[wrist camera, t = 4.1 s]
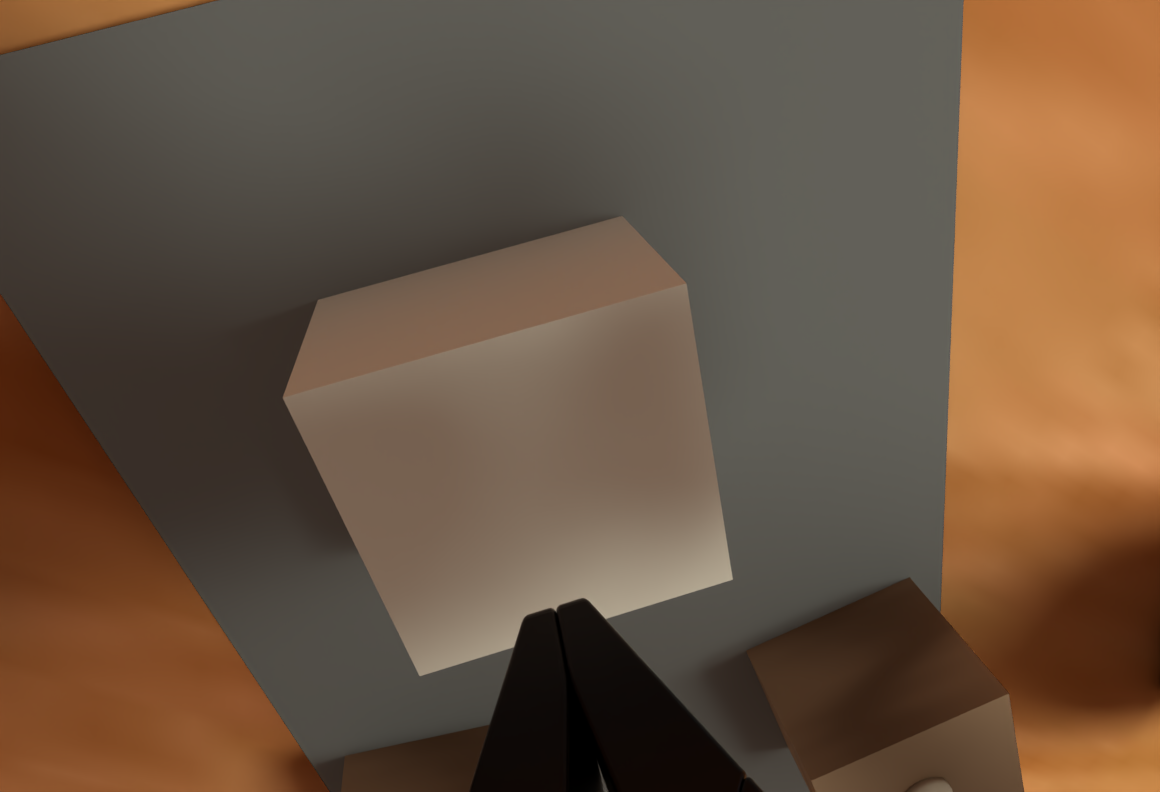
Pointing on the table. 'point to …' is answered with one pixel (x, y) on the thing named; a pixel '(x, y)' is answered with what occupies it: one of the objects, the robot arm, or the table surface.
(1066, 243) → the table surface
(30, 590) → the table surface
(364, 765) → the pip block two
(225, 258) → the mat
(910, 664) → the pip block one
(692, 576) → the plain block
